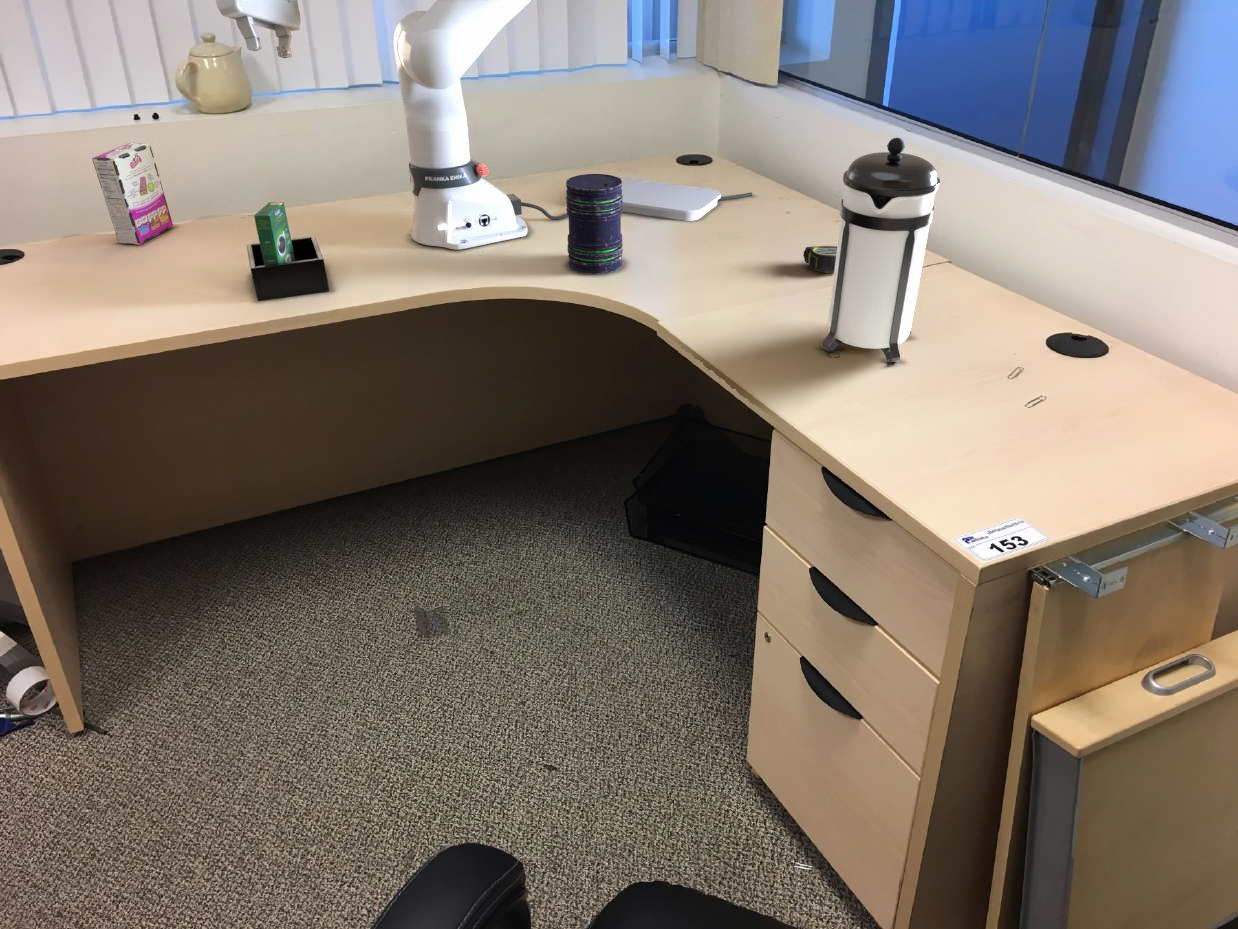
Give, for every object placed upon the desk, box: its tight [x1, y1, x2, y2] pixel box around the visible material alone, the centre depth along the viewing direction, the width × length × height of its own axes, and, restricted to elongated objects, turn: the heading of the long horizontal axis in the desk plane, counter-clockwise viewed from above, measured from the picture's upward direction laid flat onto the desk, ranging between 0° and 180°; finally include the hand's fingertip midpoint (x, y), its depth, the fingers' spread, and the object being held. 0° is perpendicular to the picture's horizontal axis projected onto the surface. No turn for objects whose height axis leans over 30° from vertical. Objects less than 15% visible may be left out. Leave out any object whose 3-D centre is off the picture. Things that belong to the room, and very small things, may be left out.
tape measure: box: [803, 245, 838, 274], centre depth 166 cm, size 7×7×4 cm
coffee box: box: [253, 201, 295, 265], centre depth 159 cm, size 8×3×13 cm, turn 179°
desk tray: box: [246, 235, 330, 302], centre depth 161 cm, size 12×13×6 cm
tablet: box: [619, 177, 722, 222], centre depth 199 cm, size 16×26×2 cm, turn 64°
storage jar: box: [565, 173, 624, 276], centre depth 165 cm, size 10×10×15 cm
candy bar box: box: [91, 142, 174, 246], centre depth 179 cm, size 11×5×16 cm, turn 168°
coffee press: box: [821, 137, 941, 364], centre depth 134 cm, size 17×16×30 cm
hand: (270, 53), depth 155 cm, fingers open, 8 cm apart
